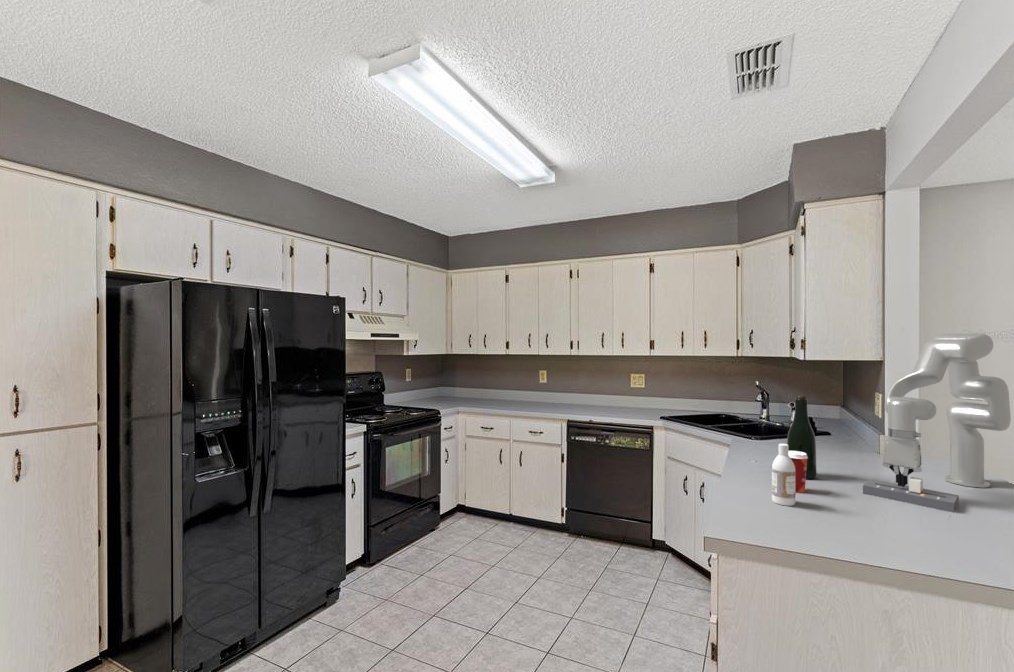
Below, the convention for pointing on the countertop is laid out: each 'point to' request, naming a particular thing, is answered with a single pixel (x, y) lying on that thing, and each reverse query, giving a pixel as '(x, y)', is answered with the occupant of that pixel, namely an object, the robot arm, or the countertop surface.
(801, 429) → the green wine bottle
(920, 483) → the fader knob
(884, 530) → the countertop surface
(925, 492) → the fader console
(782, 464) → the bath foam
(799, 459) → the paper cup
